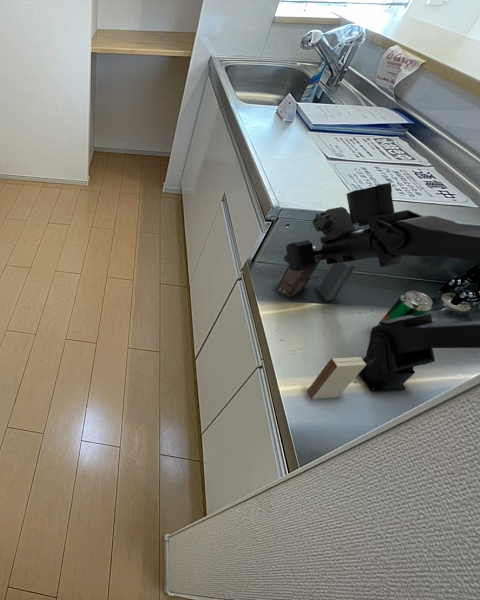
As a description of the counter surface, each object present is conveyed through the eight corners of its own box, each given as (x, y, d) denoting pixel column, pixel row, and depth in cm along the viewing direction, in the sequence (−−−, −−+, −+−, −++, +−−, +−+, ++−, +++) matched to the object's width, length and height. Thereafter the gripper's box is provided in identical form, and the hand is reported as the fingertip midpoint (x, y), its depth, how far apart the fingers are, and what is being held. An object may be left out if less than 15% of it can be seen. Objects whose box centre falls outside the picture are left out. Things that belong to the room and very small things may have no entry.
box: (292, 298, 87) (311, 261, 78) (275, 289, 89) (292, 251, 81) (306, 289, 89) (326, 251, 80) (290, 279, 92) (308, 242, 83)
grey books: (334, 300, 85) (356, 266, 78) (325, 301, 85) (346, 266, 78) (325, 289, 88) (345, 255, 80) (317, 290, 88) (337, 256, 81)
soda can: (374, 343, 76) (407, 305, 67) (369, 326, 79) (399, 288, 71) (402, 348, 74) (439, 309, 66) (395, 330, 78) (429, 292, 69)
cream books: (337, 397, 67) (366, 364, 60) (311, 398, 67) (336, 366, 60) (332, 389, 68) (360, 356, 61) (306, 391, 69) (331, 358, 61)
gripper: (395, 196, 68) (331, 215, 84) (310, 212, 67) (260, 229, 82) (405, 251, 69) (339, 260, 84) (320, 268, 67) (268, 274, 82)
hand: (302, 255), depth 83 cm, fingers open, 9 cm apart
